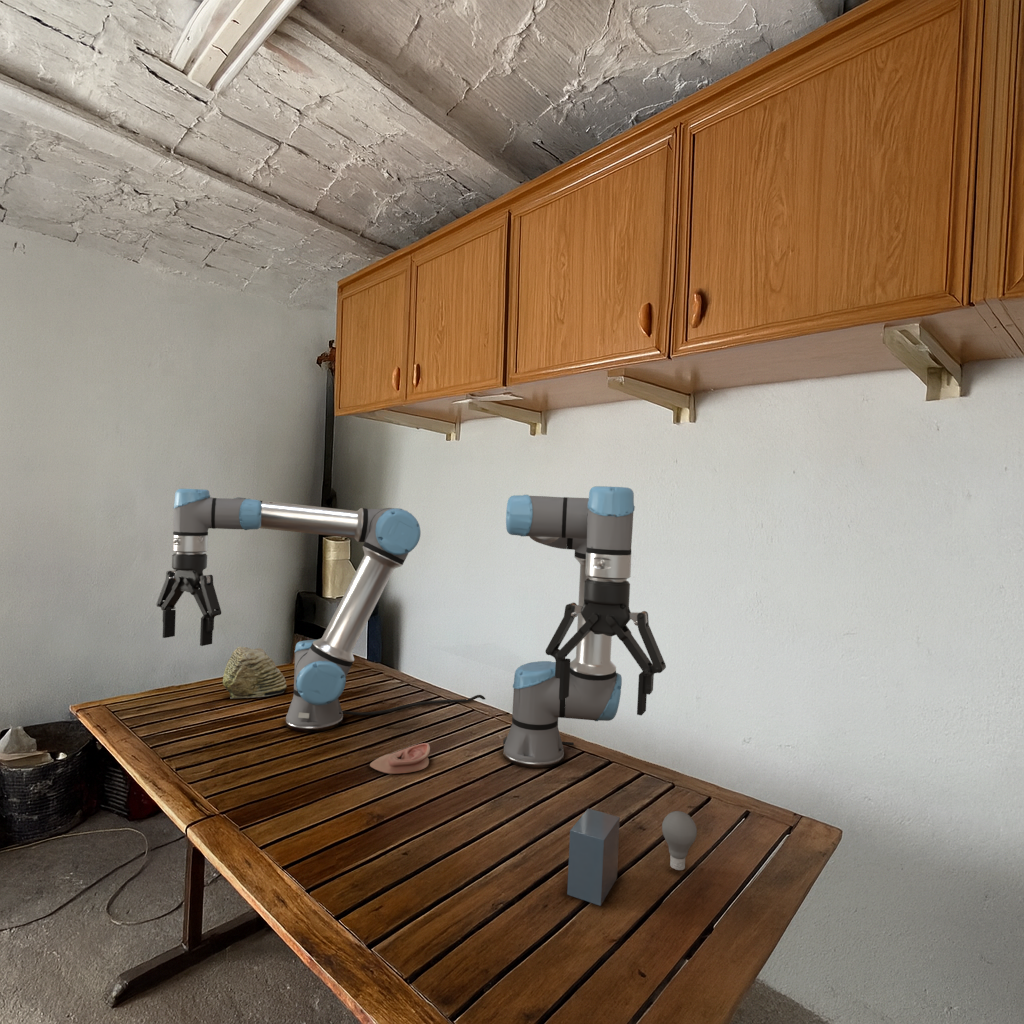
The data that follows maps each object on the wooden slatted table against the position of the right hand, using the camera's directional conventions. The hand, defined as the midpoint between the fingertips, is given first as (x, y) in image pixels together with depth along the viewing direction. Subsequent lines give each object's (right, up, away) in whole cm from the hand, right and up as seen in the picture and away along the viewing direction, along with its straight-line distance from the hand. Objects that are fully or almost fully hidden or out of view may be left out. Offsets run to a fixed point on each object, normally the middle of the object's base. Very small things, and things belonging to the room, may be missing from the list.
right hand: (601, 705), depth 106 cm
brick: (-1, -31, +1) cm, 31 cm away
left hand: (-93, +1, +46) cm, 104 cm away
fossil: (-96, -25, +92) cm, 135 cm away
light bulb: (+14, -31, +7) cm, 35 cm away
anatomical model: (-42, -28, +45) cm, 68 cm away
